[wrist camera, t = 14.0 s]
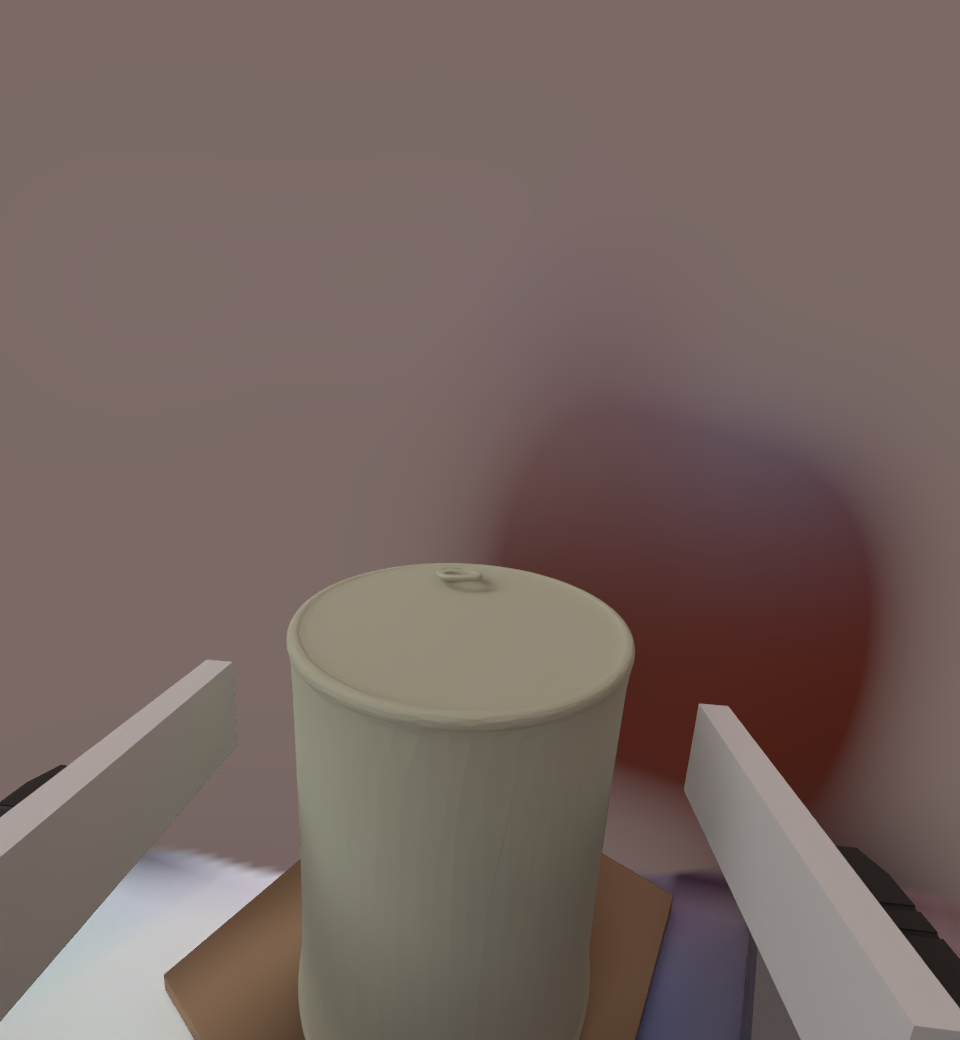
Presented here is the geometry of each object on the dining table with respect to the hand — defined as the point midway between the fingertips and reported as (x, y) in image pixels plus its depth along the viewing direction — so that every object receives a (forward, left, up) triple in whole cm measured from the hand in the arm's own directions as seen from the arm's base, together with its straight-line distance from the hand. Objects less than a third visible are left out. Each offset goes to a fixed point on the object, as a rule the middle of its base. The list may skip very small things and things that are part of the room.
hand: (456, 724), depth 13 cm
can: (0, 0, -9) cm, 9 cm away
